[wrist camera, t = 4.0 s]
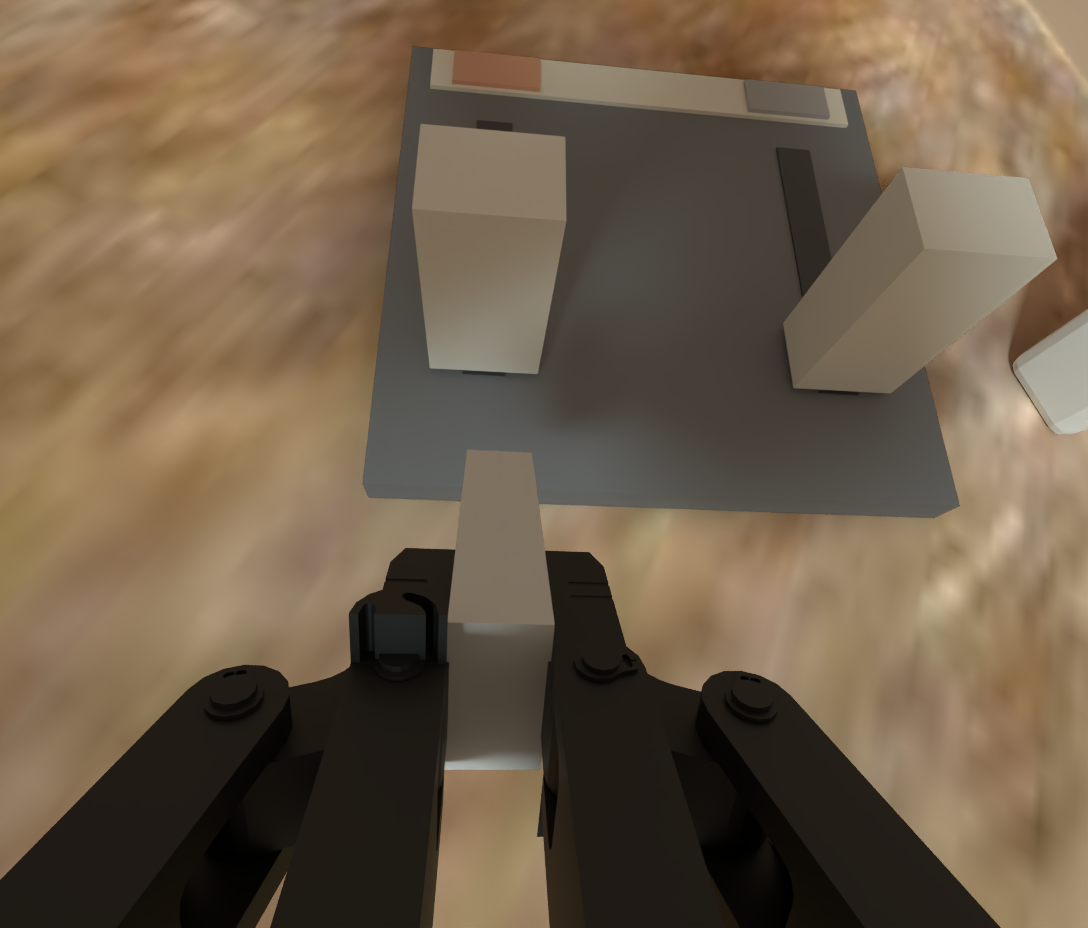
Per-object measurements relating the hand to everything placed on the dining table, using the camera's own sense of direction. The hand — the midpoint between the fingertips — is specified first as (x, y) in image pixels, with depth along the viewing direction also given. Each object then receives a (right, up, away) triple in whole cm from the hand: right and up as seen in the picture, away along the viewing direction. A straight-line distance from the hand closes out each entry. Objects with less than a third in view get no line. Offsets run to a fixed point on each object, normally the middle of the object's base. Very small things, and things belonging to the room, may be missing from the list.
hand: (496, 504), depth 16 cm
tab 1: (-1, +6, +9) cm, 11 cm away
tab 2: (+13, +5, +11) cm, 18 cm away
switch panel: (+6, +9, +14) cm, 18 cm away
